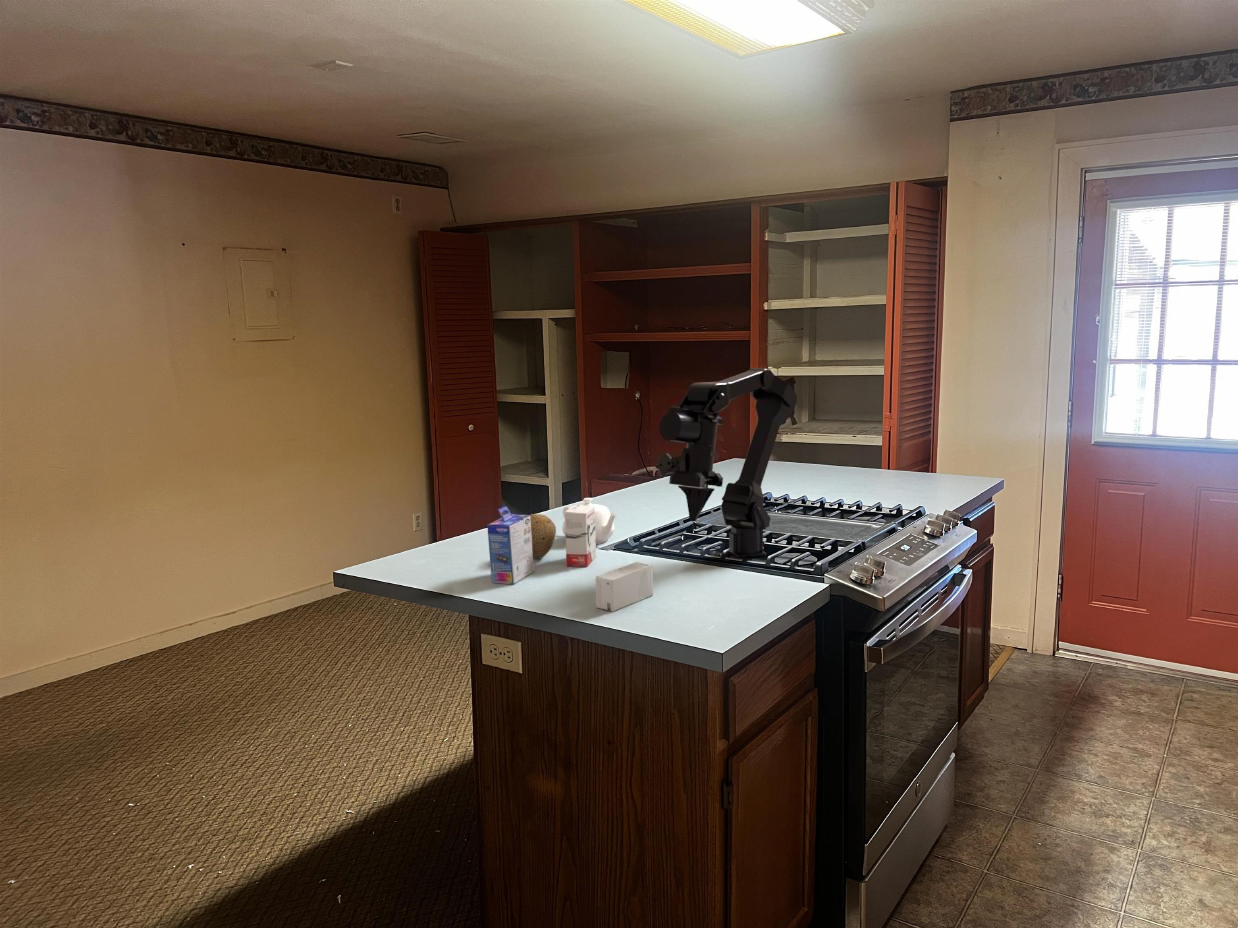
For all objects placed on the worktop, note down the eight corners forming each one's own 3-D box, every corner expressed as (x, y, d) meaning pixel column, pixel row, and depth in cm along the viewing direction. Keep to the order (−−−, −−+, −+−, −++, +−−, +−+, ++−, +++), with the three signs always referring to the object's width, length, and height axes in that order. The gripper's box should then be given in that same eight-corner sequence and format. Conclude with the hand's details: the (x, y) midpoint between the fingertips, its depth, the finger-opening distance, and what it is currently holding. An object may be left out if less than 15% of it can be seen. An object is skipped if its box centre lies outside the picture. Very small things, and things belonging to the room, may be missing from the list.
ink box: (587, 567, 185) (586, 512, 183) (565, 566, 186) (563, 512, 184) (597, 556, 193) (595, 504, 191) (575, 556, 194) (573, 504, 192)
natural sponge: (522, 565, 187) (520, 520, 185) (510, 556, 195) (508, 512, 193) (562, 560, 190) (560, 515, 189) (548, 551, 199) (547, 508, 197)
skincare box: (636, 561, 166) (593, 574, 157) (654, 564, 163) (611, 578, 154) (636, 592, 167) (593, 607, 158) (655, 596, 164) (612, 612, 155)
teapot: (637, 543, 204) (636, 500, 203) (595, 552, 196) (594, 508, 195) (585, 529, 219) (583, 489, 218) (544, 537, 212) (543, 496, 210)
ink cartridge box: (510, 569, 184) (507, 502, 182) (534, 571, 182) (532, 503, 180) (489, 583, 175) (485, 512, 173) (514, 585, 173) (510, 513, 171)
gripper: (676, 442, 189) (669, 514, 189) (648, 439, 171) (640, 517, 172) (727, 447, 185) (719, 521, 185) (703, 444, 167) (694, 525, 168)
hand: (692, 521), depth 178 cm, fingers closed
